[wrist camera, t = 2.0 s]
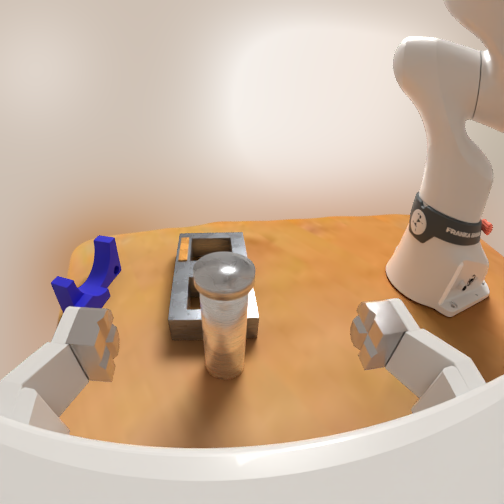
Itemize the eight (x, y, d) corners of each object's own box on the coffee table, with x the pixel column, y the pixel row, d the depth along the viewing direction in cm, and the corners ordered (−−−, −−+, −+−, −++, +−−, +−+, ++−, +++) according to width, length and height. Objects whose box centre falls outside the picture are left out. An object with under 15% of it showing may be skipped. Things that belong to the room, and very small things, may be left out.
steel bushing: (245, 345, 34) (251, 250, 27) (250, 381, 30) (259, 287, 22) (201, 347, 33) (194, 252, 26) (202, 383, 29) (191, 289, 22)
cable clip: (89, 325, 34) (75, 290, 31) (65, 317, 34) (50, 282, 31) (129, 272, 44) (122, 238, 41) (106, 267, 44) (99, 235, 41)
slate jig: (241, 250, 50) (242, 231, 48) (256, 337, 35) (259, 316, 33) (181, 252, 49) (179, 232, 47) (172, 340, 33) (168, 318, 31)
